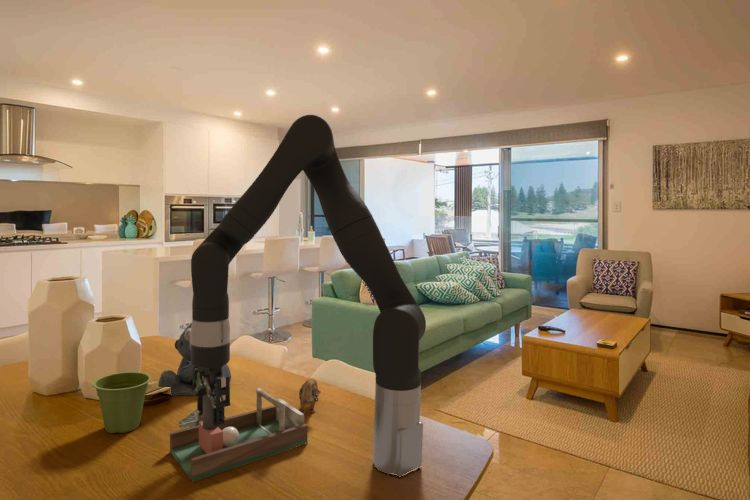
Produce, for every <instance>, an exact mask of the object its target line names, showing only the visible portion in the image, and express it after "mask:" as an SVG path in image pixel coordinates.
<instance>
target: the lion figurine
mask: <svg viewBox="0 0 750 500" xmlns="http://www.w3.org/2000/svg"><path fill="white" fill-rule="evenodd" d="M298 393H299V395H298V397H299V403H300V410H299V411H300V412H302V413H303V414H304V415H305V412H306V410H305V405H310V407H309V412H315V413H316V410H315V409H314V407H315V401H317V400H316V399H318V400H319V395H320V394H321V390H320V389H319V387H318V382H317V380H316V379H315V378H313V377H310V378H308V379H306V380H305V382H304V383H303V384H301V387H300V388H299V391H298ZM314 399H315V400H314Z"/></svg>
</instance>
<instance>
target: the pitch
mask: <svg viewBox="0 0 750 500" xmlns="http://www.w3.org/2000/svg"><path fill="white" fill-rule="evenodd" d="M255 393H256V410H255V409H254V410H251V411H248V412H247V411H246V412H243V413H240V414H236V415H231V416H228V417H226V418H224V424H222V425H219V426H218V427H219V428H220V429H221V430H223V429H224V428H226V427H234V428H236V429H237V430H238V433H239V439H238V441H237V443H236V444H235V445H233V446H231V447H226V446H223V449H221V450H217V451H214V452H211V453H208V454H206V453H205V451H204V450H203V449H202V448H201V447H200V446H199V425H197V426H193V427H189V428H182V429H178V430H175V431H174V430H173V431H171V432H169V453H170V454H171V455H172V457H173V458H174V459H175V461H176V462H177V463H178V464H179V466H180V467H181V469H182V470H183V471H184V472H185V474H186V475H187V477H188V478H189V479H190V480H191V481H192V483H194V482H197V481H200V480H203V479H207V478H210V477H212V476H215V475H219V474H222V473H225V472H228V471H230V470H234V469H236V468H240V467H242V466H245V465H248V464H252V463H254V462H257V461H260V460H263V459H267V458H269V457H272V456H275V455H278V454H281V453H284V452H287V451H290V450H292V449H291V448H293V449H295V448H294V447H296V446H299V445H302V444H305V443H307V444H308V434H309V433H308V430H309V429H308V424H306V423H305V413H304V414H303V413H302V412H300V411H301V410H299V409H297V408H295V407H294V406H292V405H291V404H290V403H288V402H287V401H285V400H284V399H282V398H275V397H273V396H272V395H271V394H269V393H268V392H266V391H264V390H263V389H262V388H260V387H257V388H256V389H255ZM263 399H265V400H266V401H268V402H269V403H270V404H271V405H270V406H267V407H263ZM305 445H306V444H305ZM302 446H303V445H302ZM299 447H300V446H299ZM296 448H297V447H296ZM289 449H290V450H289ZM286 450H287V451H286Z"/></svg>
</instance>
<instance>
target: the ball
mask: <svg viewBox="0 0 750 500" xmlns="http://www.w3.org/2000/svg"><path fill="white" fill-rule="evenodd" d="M222 431H223V446H226V447H231V446H233V445H235V444H236V443H237V441H238V439H239V433H238V430H237V429H236V428H234V427H226V428H224V429H223V430H222Z"/></svg>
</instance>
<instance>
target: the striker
mask: <svg viewBox="0 0 750 500" xmlns="http://www.w3.org/2000/svg"><path fill="white" fill-rule="evenodd" d="M215 400H216V398H215ZM212 408H213V407H212V403H211V399H210V398H208V397H207V394H205V395H204V396H203V421H201V422H199V446H200V447H201V448H202V449H203V450H204V451H205V453H206V454H208V453H211V452H214V451H217V450H221V449H223V431H222V430H221V429H220V428H219V427H218V426H214V425H213V424H212Z"/></svg>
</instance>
